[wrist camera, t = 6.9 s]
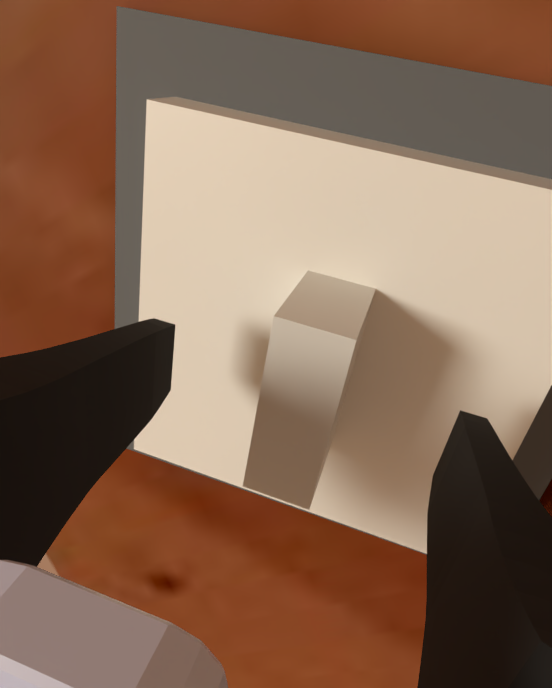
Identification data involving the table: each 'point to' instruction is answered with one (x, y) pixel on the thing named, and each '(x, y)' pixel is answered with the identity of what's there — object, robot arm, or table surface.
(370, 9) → the table surface
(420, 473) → the lid
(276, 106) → the mat
